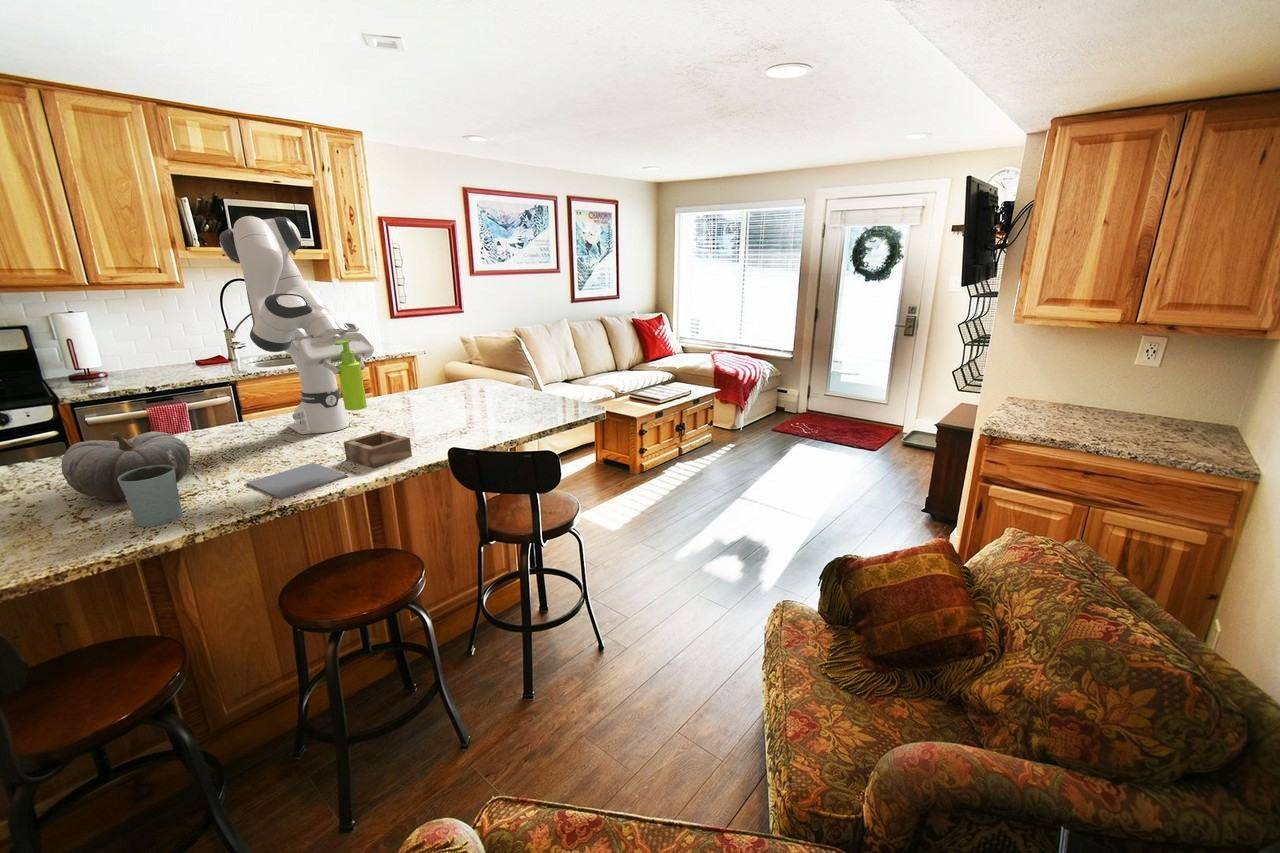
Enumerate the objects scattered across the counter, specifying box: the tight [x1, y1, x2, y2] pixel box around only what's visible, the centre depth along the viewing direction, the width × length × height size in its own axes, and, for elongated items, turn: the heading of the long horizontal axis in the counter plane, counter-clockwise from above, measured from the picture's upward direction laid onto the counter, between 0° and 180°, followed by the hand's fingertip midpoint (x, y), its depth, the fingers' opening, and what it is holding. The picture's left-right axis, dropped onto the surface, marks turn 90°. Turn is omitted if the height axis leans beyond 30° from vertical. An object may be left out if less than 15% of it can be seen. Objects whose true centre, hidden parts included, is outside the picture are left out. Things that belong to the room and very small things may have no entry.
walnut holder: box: [343, 430, 413, 470], centre depth 170 cm, size 14×13×6 cm
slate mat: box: [246, 462, 348, 500], centre depth 154 cm, size 18×18×1 cm
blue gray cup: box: [118, 465, 183, 528], centre depth 130 cm, size 10×10×12 cm
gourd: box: [60, 431, 191, 502], centre depth 145 cm, size 25×25×17 cm
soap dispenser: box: [334, 340, 368, 411], centre depth 159 cm, size 6×7×20 cm
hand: (350, 371), depth 159 cm, fingers closed on soap dispenser, 6 cm apart
